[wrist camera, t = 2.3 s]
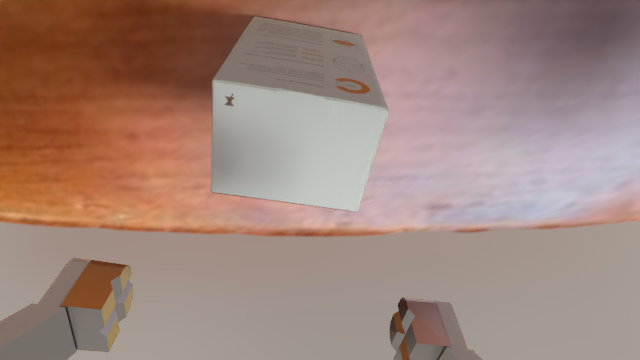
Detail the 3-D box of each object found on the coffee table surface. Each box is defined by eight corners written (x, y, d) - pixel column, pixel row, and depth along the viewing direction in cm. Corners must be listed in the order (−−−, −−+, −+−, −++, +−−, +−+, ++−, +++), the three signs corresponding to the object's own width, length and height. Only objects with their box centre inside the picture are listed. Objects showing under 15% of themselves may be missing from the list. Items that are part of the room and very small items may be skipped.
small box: (246, 98, 31) (206, 194, 20) (252, 13, 28) (208, 76, 17) (346, 114, 32) (359, 215, 21) (364, 34, 28) (391, 106, 18)
